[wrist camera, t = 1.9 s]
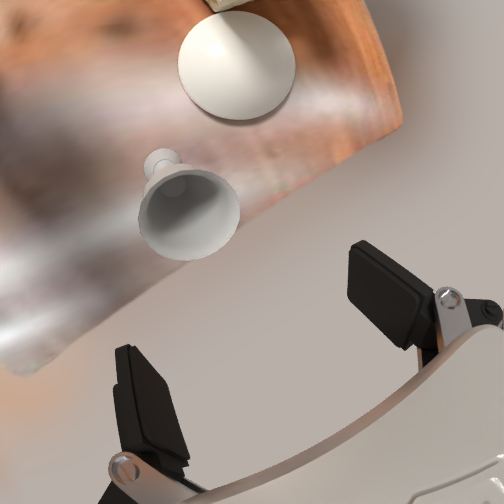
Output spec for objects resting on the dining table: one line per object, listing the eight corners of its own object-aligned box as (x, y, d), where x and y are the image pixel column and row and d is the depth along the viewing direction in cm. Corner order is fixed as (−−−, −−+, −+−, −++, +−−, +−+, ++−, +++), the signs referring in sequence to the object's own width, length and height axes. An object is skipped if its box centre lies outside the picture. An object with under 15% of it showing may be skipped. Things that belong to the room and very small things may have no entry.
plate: (166, 23, 23) (167, 20, 22) (279, 11, 26) (283, 9, 25) (193, 133, 32) (195, 134, 31) (298, 107, 36) (303, 108, 35)
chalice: (133, 192, 32) (138, 263, 18) (137, 140, 29) (140, 167, 15) (187, 192, 36) (232, 258, 21) (193, 143, 33) (248, 173, 18)
